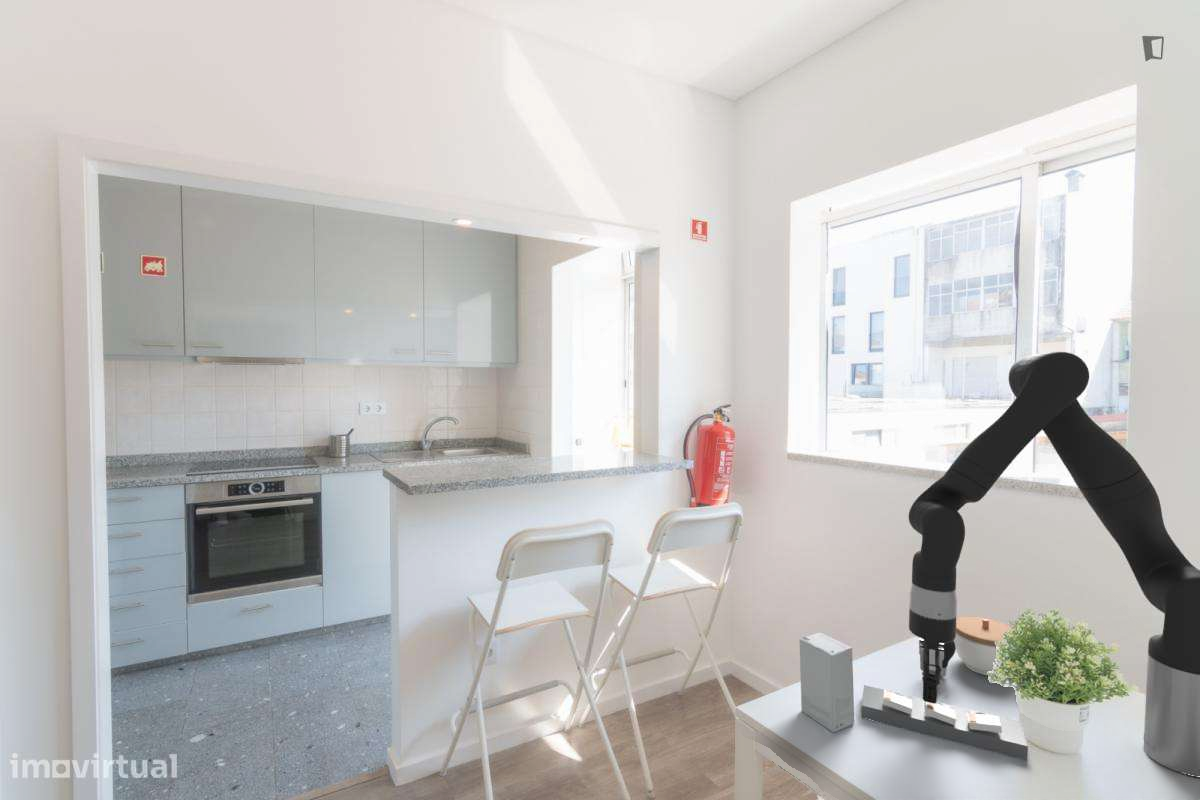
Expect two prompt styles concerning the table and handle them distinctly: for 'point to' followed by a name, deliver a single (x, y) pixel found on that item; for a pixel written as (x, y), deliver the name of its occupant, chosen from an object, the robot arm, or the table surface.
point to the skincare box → (827, 681)
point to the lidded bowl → (978, 642)
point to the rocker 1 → (897, 702)
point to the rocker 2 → (984, 722)
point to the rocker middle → (940, 712)
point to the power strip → (946, 724)
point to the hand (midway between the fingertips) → (929, 700)
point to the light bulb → (947, 655)
